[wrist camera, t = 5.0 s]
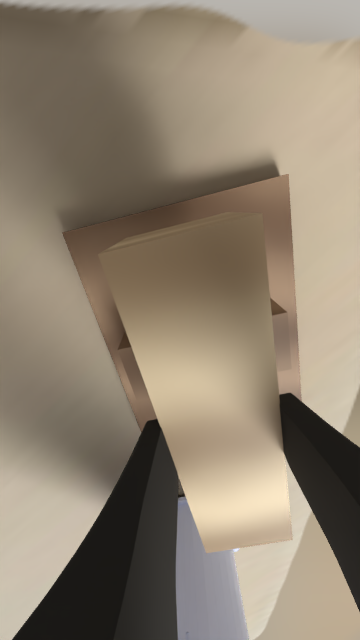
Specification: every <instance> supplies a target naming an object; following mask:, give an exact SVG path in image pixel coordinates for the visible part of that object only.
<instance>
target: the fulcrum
mask: <svg viewBox="0 0 360 640" xmlns="http://www.w3.org/2000/svg"><path fill="white" fill-rule="evenodd" d="M227 212H238V213H262V215H263V226H264V237H265V247H266V258H267V269H268V280H269V290H270V301H271V312H272V323H273V333H274V344H275V355H276V366H277V377H278V387H279V395H280V394H285V393H292V394H293V395H295V396H296V397H297V398H298V399H299V400H300V401H301V383H300V366H299V348H298V331H297V314H296V296H295V279H294V261H293V244H292V227H291V209H290V192H289V174H286V175H282V176H278V177H274V178H271V179H267V180H263V181H259V182H255V183H251V184H248V185H244V186H240V187H236V188H232V189H228V190H224V191H221V192H217V193H213V194H209V195H205V196H201V197H198V198H194V199H190V200H186V201H182V202H178V203H174V204H171V205H167V206H163V207H159V208H155V209H151V210H148V211H144V212H140V213H136V214H132V215H128V216H124V217H121V218H117V219H113V220H109V221H105V222H101V223H98V224H94V225H90V226H86V227H82V228H78V229H74V230H71V231H67V232H63V233H62V234H63V236H64V239H65V241H66V244H67V246H68V249H69V251H70V254H71V256H72V259H73V261H74V264H75V266H76V269H77V271H78V274H79V276H80V279H81V281H82V284H83V286H84V289H85V291H86V294H87V296H88V299H89V301H90V304H91V306H92V309H93V311H94V314H95V317H96V319H97V322H98V324H99V327H100V329H101V332H102V334H103V337H104V339H105V342H106V344H107V347H108V349H109V352H110V354H111V357H112V359H113V362H114V364H115V367H116V369H117V372H118V374H119V377H120V379H121V382H122V384H123V387H124V389H125V392H126V394H127V397H128V399H129V402H130V404H131V407H132V410H133V412H134V415H135V417H136V420H137V422H138V425H139V427H140V430H141V432H142V430H143V428H144V426H145V424H146V422H147V421H149V420H154V419H157V416H156V413H155V411H154V408H153V405H152V402H151V399H150V397H149V394H148V391H147V388H146V386H145V383H144V380H143V377H142V375H141V372H140V369H139V366H138V364H137V361H136V358H135V355H134V353H133V350H132V347H131V344H130V342H129V339H128V336H127V333H126V331H125V328H124V325H123V322H122V320H121V317H120V314H119V311H118V308H117V306H116V303H115V300H114V297H113V295H112V292H111V289H110V286H109V284H108V281H107V278H106V275H105V273H104V270H103V267H102V264H101V262H100V259H99V256H98V254H100V253H101V252H103V251H105V250H106V249H108V248H110V247H112V246H113V245H115V244H117V243H118V242H120V241H122V240H124V239H125V238H128V237H132V236H136V235H140V234H144V233H148V232H152V231H156V230H160V229H164V228H167V227H171V226H175V225H179V224H183V223H187V222H191V221H195V220H199V219H203V218H207V217H211V216H215V215H219V214H223V213H227ZM301 402H302V401H301Z"/></svg>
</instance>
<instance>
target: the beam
mask: <svg viewBox="0 0 360 640" xmlns="http://www.w3.org/2000/svg"><path fill="white" fill-rule="evenodd" d="M98 256H99V259H100V262H101V264H102V267H103V270H104V273H105V275H106V278H107V281H108V284H109V286H110V289H111V292H112V295H113V297H114V300H115V303H116V306H117V308H118V311H119V314H120V317H121V320H122V322H123V325H124V328H125V331H126V333H127V336H128V339H129V342H130V344H131V347H132V350H133V353H134V355H135V358H136V361H137V364H138V366H139V369H140V372H141V375H142V377H143V380H144V383H145V386H146V388H147V391H148V394H149V397H150V399H151V402H152V405H153V408H154V411H155V413H156V416H157V419H158V422H159V424H160V427H161V428H162V431H163V434H164V436H165V439H166V442H167V445H168V447H169V450H170V453H171V456H172V458H173V461H174V464H175V467H176V470H177V472H178V477H179V479H180V482H181V485H182V488H183V490H184V493H185V496H186V499H187V502H188V504H189V507H190V510H191V513H192V515H193V518H194V521H195V524H196V526H197V529H198V532H199V535H200V537H201V540H202V543H203V546H204V548H205V551H206V553H212V552H218V551H224V550H231V549H237V548H243V547H250V546H256V545H262V544H269V543H275V542H281V541H288V540H293V538H292V527H291V517H290V506H289V495H288V484H287V473H286V463H285V454H284V448H283V437H282V426H281V416H280V405H279V404H280V398H279V387H278V377H277V366H276V355H275V344H274V333H273V323H272V312H271V301H270V290H269V280H268V269H267V258H266V247H265V237H264V226H263V215H262V213H238V212H227V213H223V214H219V215H215V216H211V217H207V218H203V219H199V220H195V221H191V222H187V223H183V224H179V225H175V226H171V227H167V228H164V229H160V230H156V231H152V232H148V233H144V234H140V235H136V236H132V237H128V238H125V239H124V240H122V241H120V242H118V243H117V244H115V245H113V246H112V247H110V248H108V249H106V250H105V251H103V252H101V253H100V254H98Z"/></svg>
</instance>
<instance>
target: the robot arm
mask: <svg viewBox="0 0 360 640" xmlns="http://www.w3.org/2000/svg"><path fill="white" fill-rule="evenodd" d="M279 398H280V404H279V405H280V416H281V426H282V437H283V448H284V454H285V457H286V459H287V462H288V464H289V466H290V468H291V470H292V472H293V474H294V476H295V478H296V480H297V482H298V484H299V486H300V488H301V490H302V492H303V494H304V496H305V498H306V499H307V501H308V503H309V505H310V507H311V509H312V511H313V513H314V515H315V517H316V519H317V521H318V522H319V524H320V526H321V528H322V530H323V532H324V534H325V536H326V538H327V540H328V542H329V544H330V546H331V548H332V550H333V552H334V554H335V556H336V558H337V560H338V563H339V565H340V567H341V570H342V572H343V574H344V577H345V579H346V581H347V583H348V586H349V588H350V590H351V593H352V595H353V597H354V599H355V602H356V604H357V607H358V609H359V611H360V447H358V446H357V445H356V444H354V443H353V442H351V441H350V440H349V439H348V438H346V437H345V436H343V435H342V434H341V433H340V432H338V431H337V430H336V429H334V428H333V427H332V426H331V425H329V424H328V423H327V422H326V421H324V420H323V419H322V418H321V417H319V416H318V415H317V414H316V413H315V412H313V411H312V410H311V409H310V408H309V407H307V406H306V405H305V404H304V403H303V402H301V401H300V400H299V399H298V398H297V397H296V396H295V395H293V394H292V393H285V394H280V395H279ZM238 550H239V548H237V549H231V550H224V551H218V552H212V553H206V551H205V548H204V546H203V543H202V540H201V537H200V535H199V532H198V529H197V526H196V524H195V521H194V518H193V515H192V513H191V510H190V507H189V504H188V502H187V499H186V496H185V497H179V498H178V472H177V470H176V467H175V464H174V461H173V458H172V456H171V453H170V450H169V447H168V445H167V442H166V439H165V436H164V434H163V431H162V428H161V427H160V424H159V422H158V419H154V420H149V421H147V422H146V424H145V426H144V428H143V430H142V433H141V435H140V437H139V439H138V442H137V444H136V446H135V448H134V450H133V452H132V454H131V457H130V459H129V461H128V463H127V465H126V467H125V468H124V470H123V472H122V474H121V476H120V478H119V480H118V482H117V484H116V486H115V488H114V489H113V491H112V493H111V495H110V497H109V498H108V500H107V502H106V504H105V506H104V507H103V509H102V511H101V513H100V514H99V516H98V518H97V519H96V521H95V523H94V524H93V526H92V528H91V529H90V531H89V532H88V534H87V535H86V537H85V539H84V540H83V542H82V543H81V545H80V546H79V548H78V549H77V551H76V553H75V554H74V555H73V557H72V558H71V560H70V561H69V563H68V564H67V566H66V567H65V569H64V570H63V571H62V573H61V574H60V576H59V577H58V579H57V580H56V582H55V583H54V584H53V586H52V587H51V589H50V590H49V591H48V593H47V594H46V596H45V597H44V598H43V600H42V601H41V602H40V604H39V605H38V607H37V608H36V609H35V610H34V612H33V613H32V614H31V616H30V617H29V618H28V620H27V621H26V622H25V623H24V625H23V626H22V627H21V629H20V630H19V631H18V633H17V634H16V635H15V637H14V638H13V639H12V640H249V636H248V630H247V624H246V619H245V613H244V607H243V602H242V596H241V591H240V585H239V579H238V574H237V568H236V562H235V557H234V552H236V551H238Z"/></svg>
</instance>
